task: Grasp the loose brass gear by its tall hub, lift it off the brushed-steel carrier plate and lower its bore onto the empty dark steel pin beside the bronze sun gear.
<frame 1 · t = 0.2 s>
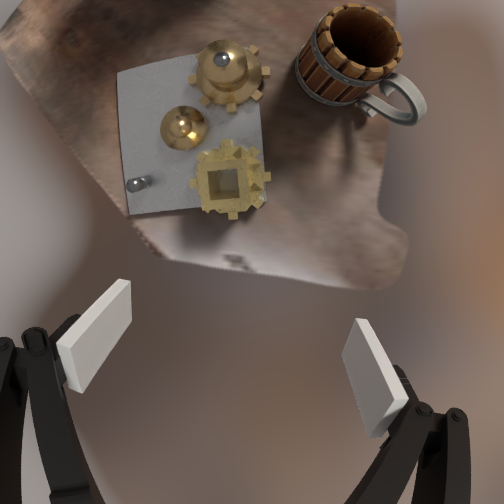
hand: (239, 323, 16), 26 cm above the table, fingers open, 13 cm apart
mug: (343, 86, 34), on the table
carrier: (188, 129, 37), on the table
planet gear: (231, 178, 38), point 1 cm above the table, touching carrier
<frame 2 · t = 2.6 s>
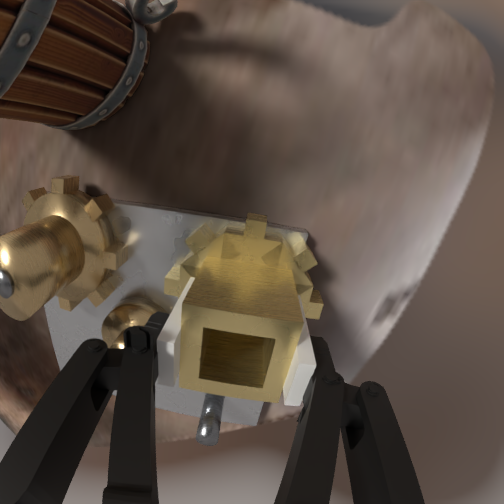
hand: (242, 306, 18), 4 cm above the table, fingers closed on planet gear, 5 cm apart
mug: (119, 48, 16), on the table
carrier: (148, 322, 23), on the table
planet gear: (244, 286, 20), point 1 cm above the table, touching carrier, gripper
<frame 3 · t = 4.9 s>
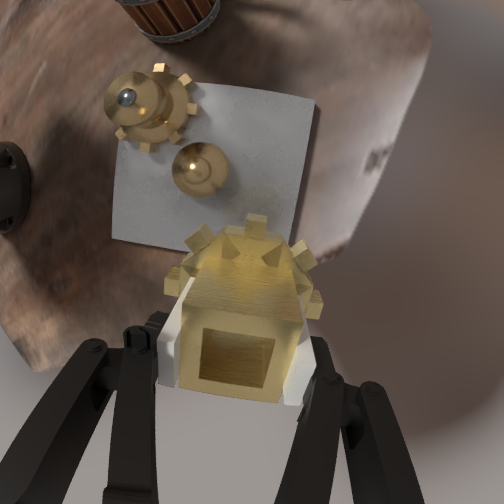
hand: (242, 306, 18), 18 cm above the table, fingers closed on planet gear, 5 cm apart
mug: (197, 3, 25), on the table
carrier: (204, 168, 33), on the table
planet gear: (244, 286, 20), point 15 cm above the table, touching gripper
when the fingers open (5 cm above the table, at t = 7.1 s): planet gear drops 1 cm, resting on carrier.
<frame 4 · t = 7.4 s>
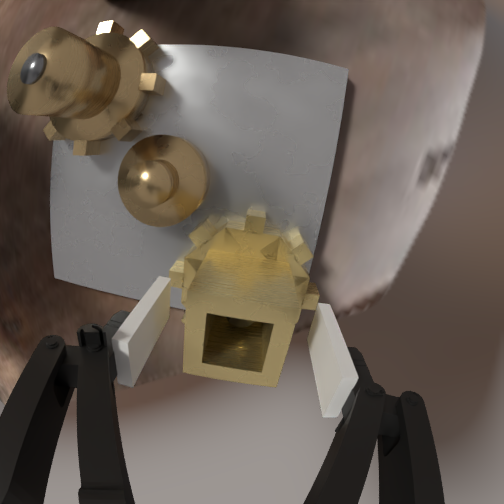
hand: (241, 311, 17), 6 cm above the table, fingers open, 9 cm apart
carrier: (173, 177, 20), on the table
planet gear: (244, 279, 21), point 1 cm above the table, touching carrier
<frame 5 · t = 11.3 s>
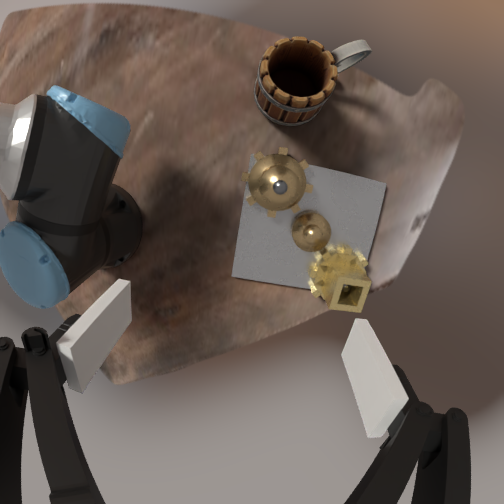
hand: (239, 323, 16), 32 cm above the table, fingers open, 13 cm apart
mug: (302, 88, 39), on the table
carrier: (308, 228, 46), on the table
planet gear: (337, 273, 47), point 1 cm above the table, touching carrier
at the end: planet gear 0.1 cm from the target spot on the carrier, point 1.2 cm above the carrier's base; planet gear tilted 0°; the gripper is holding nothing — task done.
